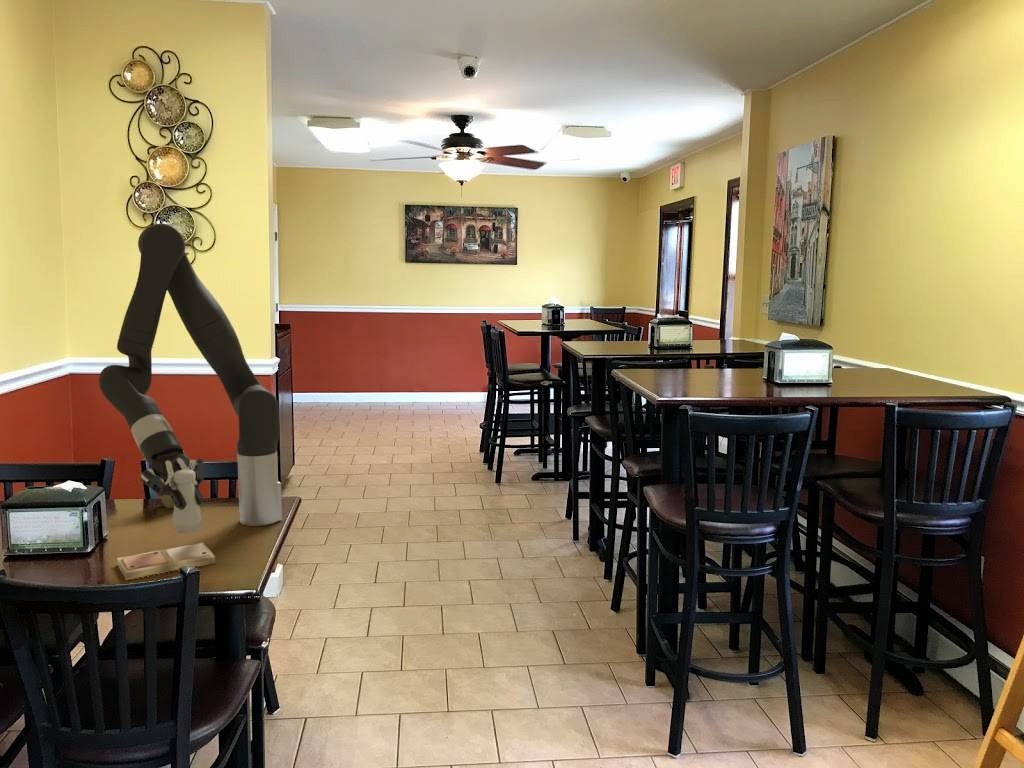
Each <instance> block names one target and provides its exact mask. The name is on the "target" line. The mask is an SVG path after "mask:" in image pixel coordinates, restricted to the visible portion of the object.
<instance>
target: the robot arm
mask: <svg viewBox="0 0 1024 768" xmlns="http://www.w3.org/2000/svg"><path fill="white" fill-rule="evenodd" d="M137 240H138V241H137V247H138V251H139V253H140V261H139V270H138V275H137V280H136V285H135V287H134V290H133V293H132V296H131V299H130V301H129V304H128V306H127V308H126V311H125V314H124V318H123V320H122V321H123V322H122V323H121V324H122V325H121V327H120V331H119V336H118V339H117V343H116V350H117V351H118V352H119V353H120V354H122V355H125V356H127V358H128V365H120V364H109V365H108V366H107V365H106V367H104V368H103V369H102V370H101V372H100V373H99V376H98V386H99V389H100V390H101V393H102V394H103V396H104V398H105V399H106V400H107V401H109V404H111V405H112V406H113V407H114V408H115V409H116V411H118V412H119V413H120V414H121V415H122V417H124V420H125V422H126V423H127V425H128V427H129V429H130V431H131V434H132V436H133V439H134V441H135V443H136V446H137V447H138V449H139V451H140V453H141V455H142V456H143V458H144V461H145V463H146V464H147V465H148V469H144V470H143V471H142V474H141V476H140V477H139V480H140V481H141V482H142V483H144V485H146V486H147V487H148V488H149V489H151V490H152V491H153V492H154V493H156V494H157V495H158V496H159V497H160V496H163V495H168V496H170V497H171V499H172V501H173V502H174V505H175V506H176V507H177V508H179V509H180V510H182V509H184V508H185V506H186V501H185V500H184V498H183V496H182V494H181V492H180V491H179V490H177V485H176V483H175V482H174V480H173V475H174V473H175V472H176V471H179V470H184V469H188V466H189V468H190V470H193V471H194V472H195V475H196V479H195V481H193V484H194V488H195V491H194V492H195V496H196V501H197V505H199V506H200V505H201V503H202V502H203V498H204V496H203V494H202V492H201V490H200V488H199V487H200V486H201V484H202V483H203V481H204V479H205V477H204V460H203V458H202V457H201V458H200V457H199V458H197V459H190V458H189V456H187V455H186V454H185V451H184V450H183V449H184V448H183V446H182V444H181V443H180V442H179V439H178V438H177V436H176V434H175V432H174V430H173V428H172V426H171V425H170V422H168V420H167V419H166V418H165V417H164V415H163V413H162V411H161V409H160V408H159V406H158V404H157V403H156V401H155V400H154V399H153V398H152V397H151V396H148V395H146V394H147V393H148V392H149V390H150V388H151V385H152V379H153V377H152V375H153V370H152V368H153V366H152V360H153V359H152V352H153V351H152V349H153V345H154V343H155V339H156V335H157V332H158V327H159V324H160V319H161V315H162V310H163V305H164V302H165V298H166V295H167V292H168V294H169V296H170V298H171V300H172V302H173V305H174V307H175V310H176V311H177V314H178V316H179V317H180V320H181V322H182V323H183V325H184V328H185V330H186V331H187V332H188V335H189V337H190V338H191V340H192V341H193V343H194V344H195V346H196V348H197V349H198V350H199V352H200V353H201V355H202V357H203V358H204V359H205V361H206V362H207V364H208V365H209V366H210V367H211V369H212V370H213V371H214V373H215V374H216V376H217V377H218V379H219V380H220V382H221V384H222V386H223V389H224V390H225V393H226V395H227V398H228V399H229V401H230V404H231V406H232V408H233V411H234V412H235V414H236V415H237V418H238V441H237V443H236V455H237V477H238V479H237V483H238V507H239V512H238V513H239V523H240V524H242V525H243V526H249V527H259V526H266V525H272V524H275V523H276V522H279V521H282V520H283V511H282V510H283V509H282V507H283V505H282V484H281V482H280V481H279V475H278V474H279V470H278V465H279V464H278V443H279V438H280V437H279V436H280V414H279V413H280V411H279V409H280V408H279V403H278V400H277V398H276V396H275V395H274V394H273V393H272V392H271V391H270V390H268V389H266V388H265V387H264V386H263V385H262V383H261V382H260V381H259V379H258V378H257V377H256V375H255V374H254V372H253V371H252V369H251V368H250V366H249V364H248V362H247V361H246V358H245V354H244V352H243V349H242V345H241V343H240V340H239V338H238V335H237V333H236V330H235V329H234V326H233V324H232V323H231V321H230V320H229V318H228V316H227V314H226V312H225V310H224V309H223V308H222V307H221V305H220V303H219V302H218V301H217V300H216V298H215V296H213V294H212V293H211V291H210V290H209V289H208V288H207V286H205V284H204V283H203V282H202V281H201V280H200V278H199V277H198V275H197V274H196V271H195V269H194V267H193V265H192V264H191V262H190V259H189V257H188V256H187V254H186V240H185V238H184V236H183V234H182V233H181V232H180V231H179V230H178V228H177V227H174V226H173V225H170V224H169V223H155V224H152V225H149V226H147V227H146V228H144V229H143V231H141V233H140V235H139V236H138V239H137ZM183 451H184V452H183ZM160 478H161V479H162V481H161V480H160Z"/></svg>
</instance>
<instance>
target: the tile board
mask: <svg viewBox="0 0 1024 768" xmlns="http://www.w3.org/2000/svg"><path fill="white" fill-rule="evenodd" d="M116 561H117V562H116V563H117V566H119V567H118V569H119V570H120V572H121V571H122V572H121V574H122V573H123V574H122V576H123V575H124V576H125V578H126V579H127V578H132V577H138V576H142V575H147V574H153V573H161V572H168V571H173V570H178V569H179V567H181V566H197V567H196V568H198V567H202V566H208V565H213V564H216V556H215V555H214V554H213V552H212V551H211V550H210V549H209V548H208V547H207V545H205V543H204V542H200V543H194V544H188V545H187V544H186V545H181V546H177V547H172V548H165V549H160V550H153V551H149V552H144V553H137V554H132V555H127V556H121V557H117V560H116ZM178 571H179V570H178ZM173 572H174V571H173ZM168 573H169V572H168ZM124 576H123V577H124ZM125 578H124V579H125Z"/></svg>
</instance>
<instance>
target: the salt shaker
mask: <svg viewBox="0 0 1024 768" xmlns="http://www.w3.org/2000/svg"><path fill="white" fill-rule="evenodd" d="M189 469H190V468H189ZM189 469H184V470H179V471H176V472H175V473H174V475H173V480H174V482H175V483H177V490H179V491H180V492H181V494H182V496H183V498H184V500H185V501H186V506H185V508H184V509H182V510H180V509H179V508H177V507H176V506H175V505H174V508H173V513H172V520H171V521H172V522H171V523H172V525H173V526H174V528H175V530H176V531H177V533H178V534H184V535H188V534H193V533H196V532H197V531H199V529H200V526H201V523H202V521H203V515H202V511H201V508H200V505H197V501H196V496H195V492H194V491H195V488H194V484H193V481H195V479H196V475H195V472H194V471H193V470H192V469H190V470H189Z"/></svg>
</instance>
